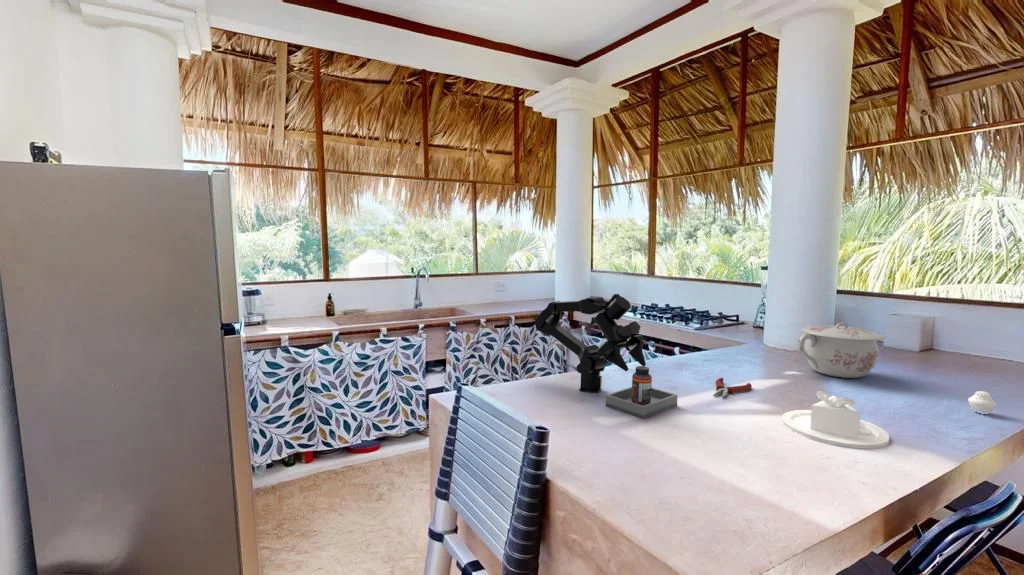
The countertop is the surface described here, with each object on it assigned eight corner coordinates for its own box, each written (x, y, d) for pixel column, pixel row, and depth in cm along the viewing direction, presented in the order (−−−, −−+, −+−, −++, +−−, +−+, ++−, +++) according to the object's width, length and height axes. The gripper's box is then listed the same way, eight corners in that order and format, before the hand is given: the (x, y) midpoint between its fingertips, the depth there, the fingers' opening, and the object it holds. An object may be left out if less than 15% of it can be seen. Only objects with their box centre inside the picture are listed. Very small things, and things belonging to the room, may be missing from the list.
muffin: (967, 408, 152) (969, 386, 151) (994, 413, 147) (997, 391, 147) (966, 412, 147) (969, 390, 147) (994, 418, 143) (997, 395, 142)
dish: (896, 458, 116) (900, 413, 115) (779, 435, 129) (782, 394, 128) (883, 425, 137) (886, 387, 136) (783, 408, 150) (785, 373, 149)
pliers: (699, 396, 162) (700, 388, 162) (719, 383, 177) (719, 376, 177) (735, 404, 155) (736, 396, 154) (752, 389, 170) (753, 382, 170)
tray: (605, 405, 150) (605, 394, 150) (639, 394, 161) (639, 384, 161) (643, 418, 139) (643, 407, 139) (676, 405, 151) (677, 394, 150)
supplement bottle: (628, 399, 153) (629, 365, 152) (646, 399, 154) (648, 364, 152) (635, 406, 147) (636, 370, 146) (653, 405, 148) (655, 369, 146)
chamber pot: (877, 371, 194) (882, 321, 192) (885, 388, 171) (890, 331, 169) (797, 361, 209) (800, 314, 207) (795, 376, 186) (798, 323, 184)
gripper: (605, 316, 147) (634, 358, 140) (641, 311, 159) (669, 349, 152) (585, 337, 154) (611, 378, 147) (621, 330, 166) (647, 368, 159)
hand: (636, 368), depth 151 cm, fingers open, 9 cm apart
